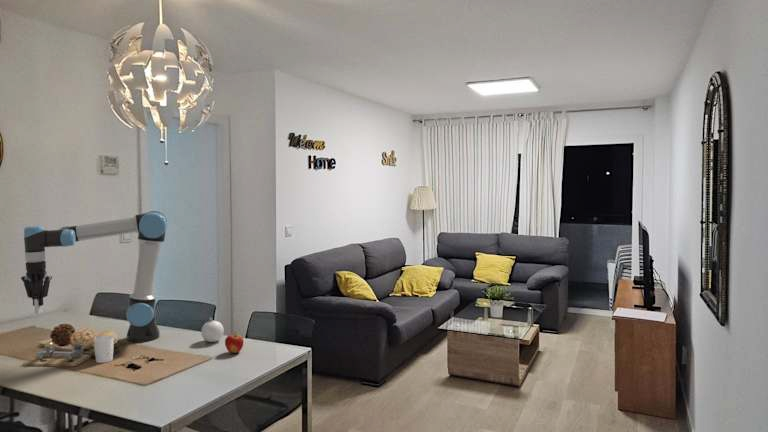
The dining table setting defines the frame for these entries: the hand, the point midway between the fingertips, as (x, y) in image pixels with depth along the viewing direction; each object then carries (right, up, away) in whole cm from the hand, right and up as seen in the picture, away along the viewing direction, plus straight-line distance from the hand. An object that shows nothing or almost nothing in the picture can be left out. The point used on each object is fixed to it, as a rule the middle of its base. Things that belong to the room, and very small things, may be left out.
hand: (38, 312), depth 242 cm
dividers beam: (+11, -19, -4) cm, 22 cm away
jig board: (+12, -20, -5) cm, 24 cm away
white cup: (+32, -21, -4) cm, 38 cm away
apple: (+86, -20, +7) cm, 89 cm away
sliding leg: (+6, -19, -4) cm, 20 cm away
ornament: (+71, -19, +23) cm, 77 cm away
